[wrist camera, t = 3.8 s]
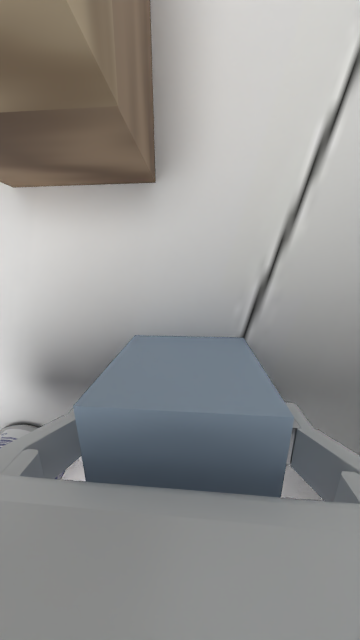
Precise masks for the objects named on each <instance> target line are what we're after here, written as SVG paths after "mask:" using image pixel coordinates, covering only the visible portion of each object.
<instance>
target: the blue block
mask: <svg viewBox="0 0 360 640" xmlns="http://www.w3.org/2000/svg"><path fill="white" fill-rule="evenodd" d="M73 408H74V414H75V420H76V426H77V431H78V437H79V443H80V449H81V455H82V461H83V466H84V472H85V478H86V482H98V483H110V484H122V485H134V486H147V487H159V488H171V489H184V490H196V491H209V492H221V493H232V494H244V495H256V496H268V497H281V491H282V486H283V480H284V474H285V468H286V462H287V457H288V451H289V445H290V439H291V433H292V428H293V422H294V416H293V415H292V413H291V411H290V410H289V408H288V407H287V405H286V404H285V402H284V401H283V399H282V397H281V396H280V394H279V393H278V391H277V390H276V388H275V386H274V385H273V383H272V382H271V380H270V379H269V377H268V375H267V374H266V372H265V371H264V369H263V368H262V366H261V364H260V363H259V361H258V360H257V358H256V357H255V355H254V353H253V352H252V350H251V349H250V347H249V346H248V344H247V342H246V341H245V339H244V338H234V337H188V336H142V335H135V336H134V337H133V338H132V339H131V340H130V341H129V343H128V344H127V345H126V346H125V347H124V348H123V350H122V351H121V352H120V353H119V354H118V355H117V356H116V358H115V359H114V360H113V361H112V362H111V363H110V364H109V366H108V367H107V368H106V369H105V370H104V371H103V372H102V374H101V375H100V376H99V377H98V378H97V379H96V380H95V382H94V383H93V384H92V385H91V386H90V387H89V388H88V390H87V391H86V392H85V393H84V394H83V395H82V396H81V398H80V399H79V400H78V401H77V402H76V403H75V405H74V406H73Z"/></svg>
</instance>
